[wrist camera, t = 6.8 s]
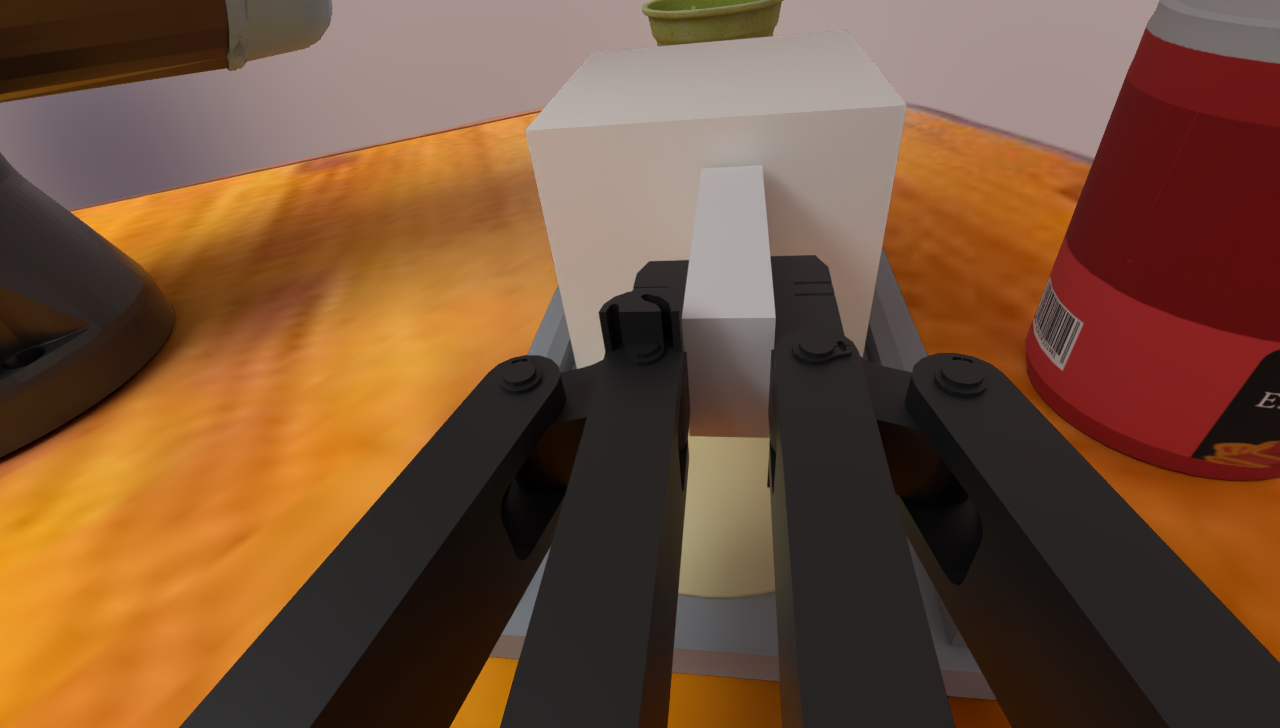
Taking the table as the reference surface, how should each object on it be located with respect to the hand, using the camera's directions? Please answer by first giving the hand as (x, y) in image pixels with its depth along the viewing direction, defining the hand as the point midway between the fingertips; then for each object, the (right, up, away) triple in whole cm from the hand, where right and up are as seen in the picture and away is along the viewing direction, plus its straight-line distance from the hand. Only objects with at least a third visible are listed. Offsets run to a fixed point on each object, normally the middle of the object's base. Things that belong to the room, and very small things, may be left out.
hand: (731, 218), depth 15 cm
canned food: (+14, -5, +4) cm, 16 cm away
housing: (+1, -1, +7) cm, 7 cm away
